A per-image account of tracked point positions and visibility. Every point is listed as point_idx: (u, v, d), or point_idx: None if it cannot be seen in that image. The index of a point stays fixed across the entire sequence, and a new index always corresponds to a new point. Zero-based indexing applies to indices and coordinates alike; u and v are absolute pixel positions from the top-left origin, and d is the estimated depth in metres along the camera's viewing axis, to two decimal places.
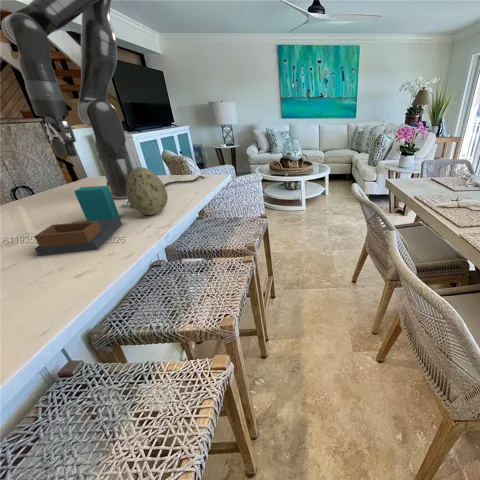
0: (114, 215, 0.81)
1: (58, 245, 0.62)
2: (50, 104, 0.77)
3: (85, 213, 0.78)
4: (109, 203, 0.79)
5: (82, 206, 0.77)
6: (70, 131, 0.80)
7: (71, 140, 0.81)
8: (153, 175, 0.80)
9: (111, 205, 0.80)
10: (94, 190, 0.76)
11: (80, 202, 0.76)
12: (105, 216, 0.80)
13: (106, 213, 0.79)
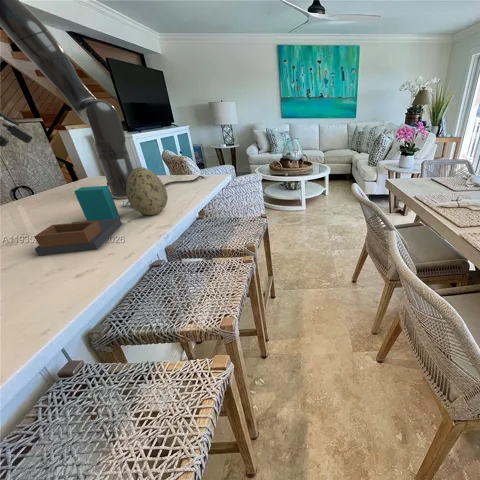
0: (114, 215, 0.81)
1: (58, 245, 0.62)
2: None
3: (85, 213, 0.78)
4: (109, 203, 0.79)
5: (82, 206, 0.77)
6: None
7: None
8: (153, 175, 0.80)
9: (111, 205, 0.80)
10: (94, 190, 0.76)
11: (80, 202, 0.76)
12: (105, 216, 0.80)
13: (106, 213, 0.79)
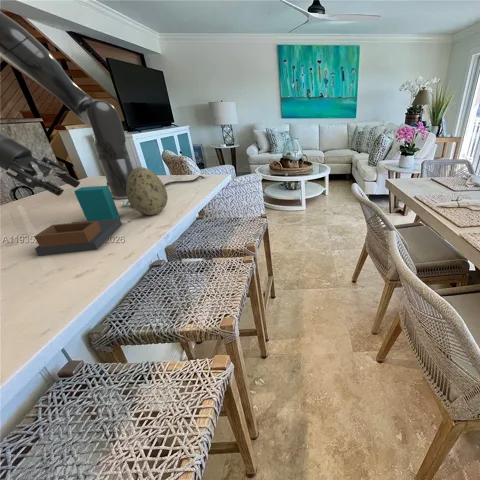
0: (114, 215, 0.81)
1: (58, 245, 0.62)
2: None
3: (85, 213, 0.78)
4: (109, 203, 0.79)
5: (82, 206, 0.77)
6: (22, 175, 0.66)
7: (33, 183, 0.67)
8: (153, 175, 0.80)
9: (111, 205, 0.80)
10: (94, 190, 0.76)
11: (80, 202, 0.76)
12: (105, 216, 0.80)
13: (106, 213, 0.79)
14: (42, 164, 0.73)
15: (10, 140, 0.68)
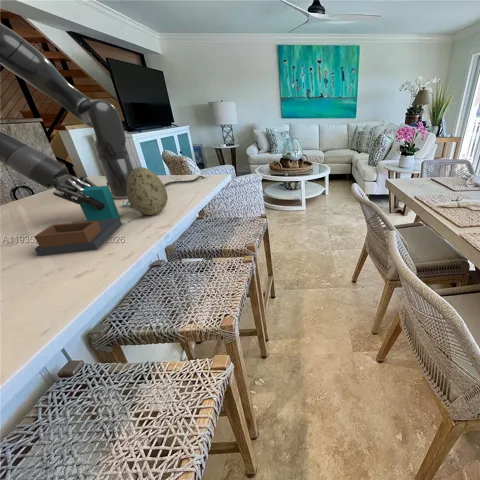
0: (114, 215, 0.81)
1: (58, 245, 0.62)
2: (35, 176, 0.70)
3: (85, 213, 0.78)
4: (109, 203, 0.79)
5: (82, 206, 0.77)
6: (70, 194, 0.72)
7: (80, 200, 0.73)
8: (153, 175, 0.80)
9: (111, 205, 0.80)
10: (94, 190, 0.76)
11: None
12: (105, 216, 0.80)
13: (106, 213, 0.79)
14: (77, 180, 0.77)
15: (49, 159, 0.72)
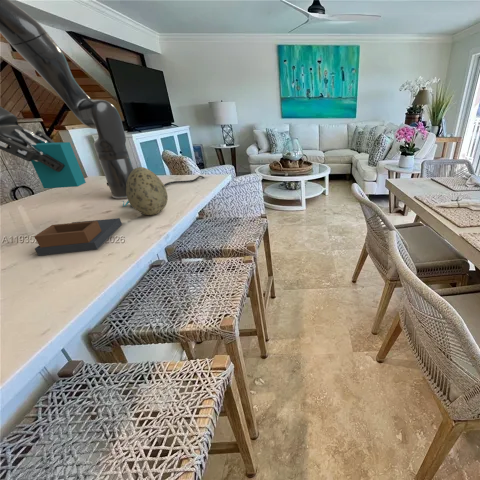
0: (77, 180, 0.66)
1: (58, 245, 0.62)
2: None
3: (39, 175, 0.63)
4: (70, 163, 0.64)
5: (35, 166, 0.62)
6: (15, 147, 0.56)
7: (29, 155, 0.58)
8: (153, 175, 0.80)
9: (73, 167, 0.65)
10: (50, 145, 0.61)
11: (32, 160, 0.61)
12: (66, 180, 0.64)
13: (67, 176, 0.64)
14: (30, 133, 0.61)
15: None
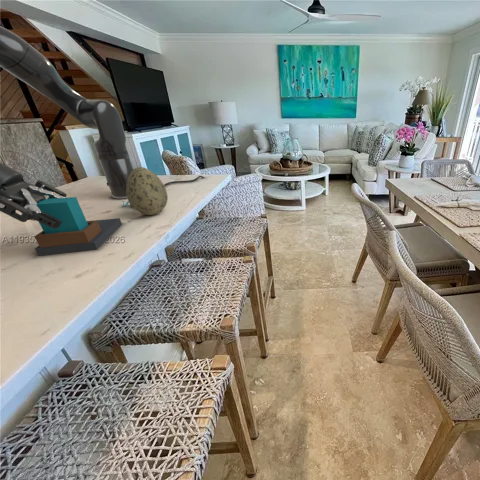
0: None
1: (58, 245, 0.62)
2: None
3: (46, 232, 0.62)
4: (77, 219, 0.63)
5: (41, 223, 0.61)
6: (10, 207, 0.54)
7: (24, 216, 0.55)
8: (153, 175, 0.80)
9: (80, 222, 0.64)
10: (56, 203, 0.60)
11: None
12: None
13: None
14: (36, 190, 0.60)
15: None
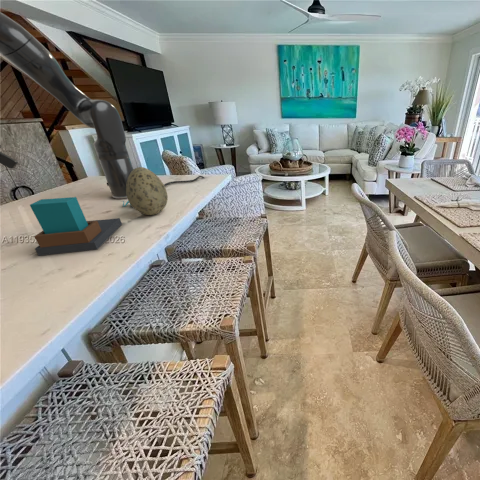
0: None
1: (58, 245, 0.62)
2: None
3: (46, 232, 0.62)
4: (77, 219, 0.63)
5: (41, 223, 0.61)
6: None
7: None
8: (153, 175, 0.80)
9: (80, 222, 0.64)
10: (56, 203, 0.60)
11: (38, 219, 0.60)
12: None
13: None
14: None
15: None
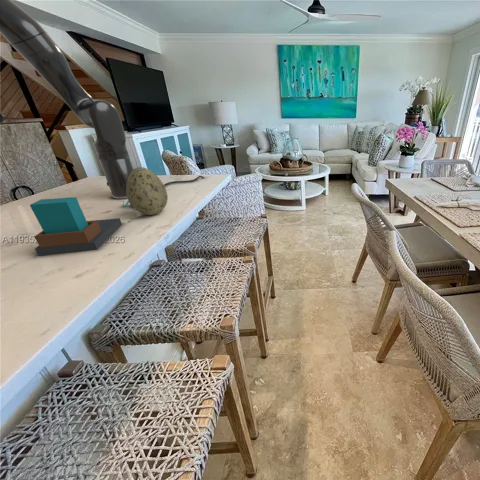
0: None
1: (58, 245, 0.62)
2: None
3: (46, 232, 0.62)
4: (77, 219, 0.63)
5: (41, 223, 0.61)
6: None
7: None
8: (153, 175, 0.80)
9: (80, 222, 0.64)
10: (56, 203, 0.60)
11: (38, 219, 0.60)
12: None
13: None
14: None
15: None
